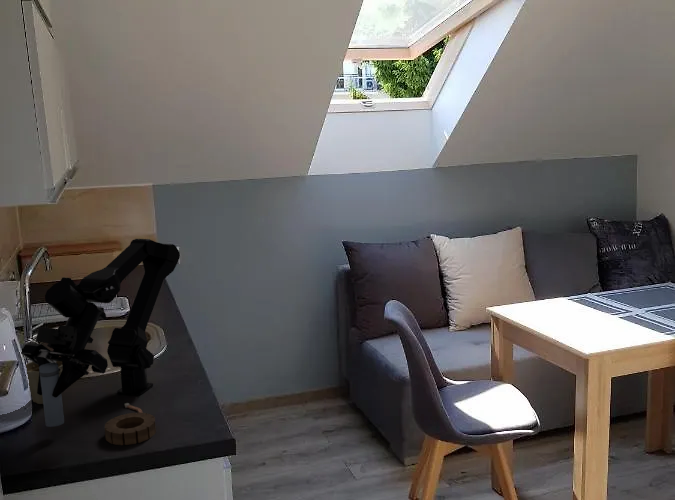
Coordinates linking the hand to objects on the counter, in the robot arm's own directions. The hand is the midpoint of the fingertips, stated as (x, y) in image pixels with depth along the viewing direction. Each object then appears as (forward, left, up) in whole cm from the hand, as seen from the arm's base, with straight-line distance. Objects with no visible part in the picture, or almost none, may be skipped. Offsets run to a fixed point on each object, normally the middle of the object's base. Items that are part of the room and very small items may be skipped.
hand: (46, 395), depth 141 cm
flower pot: (-19, -15, -10) cm, 26 cm away
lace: (-14, +11, -10) cm, 20 cm away
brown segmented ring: (-6, +15, -10) cm, 19 cm away
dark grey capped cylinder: (-1, 0, -7) cm, 7 cm away
